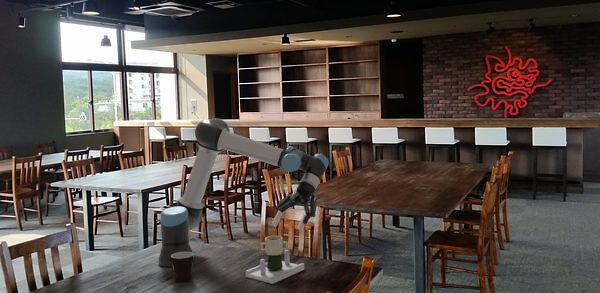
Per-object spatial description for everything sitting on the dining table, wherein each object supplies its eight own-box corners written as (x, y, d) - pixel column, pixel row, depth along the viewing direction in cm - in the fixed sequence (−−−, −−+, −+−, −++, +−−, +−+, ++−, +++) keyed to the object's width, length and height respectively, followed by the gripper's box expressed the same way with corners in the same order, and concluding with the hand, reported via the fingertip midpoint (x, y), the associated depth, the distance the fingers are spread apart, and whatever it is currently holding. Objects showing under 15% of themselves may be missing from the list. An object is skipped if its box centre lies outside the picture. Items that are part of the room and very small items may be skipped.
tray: (245, 276, 210) (245, 258, 210) (278, 263, 226) (277, 246, 225) (272, 283, 202) (271, 264, 201) (304, 269, 218) (303, 251, 217)
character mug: (288, 265, 218) (287, 234, 217) (288, 271, 211) (287, 239, 210) (261, 267, 217) (260, 236, 216) (261, 272, 210) (260, 240, 209)
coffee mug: (189, 284, 204) (188, 258, 203) (168, 283, 206) (167, 257, 205) (200, 274, 215) (199, 250, 214) (181, 273, 217) (179, 249, 216)
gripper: (335, 193, 222) (314, 236, 212) (289, 188, 238) (268, 228, 228) (327, 183, 218) (306, 226, 208) (281, 178, 233) (259, 218, 223)
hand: (286, 227), depth 218 cm, fingers open, 13 cm apart
